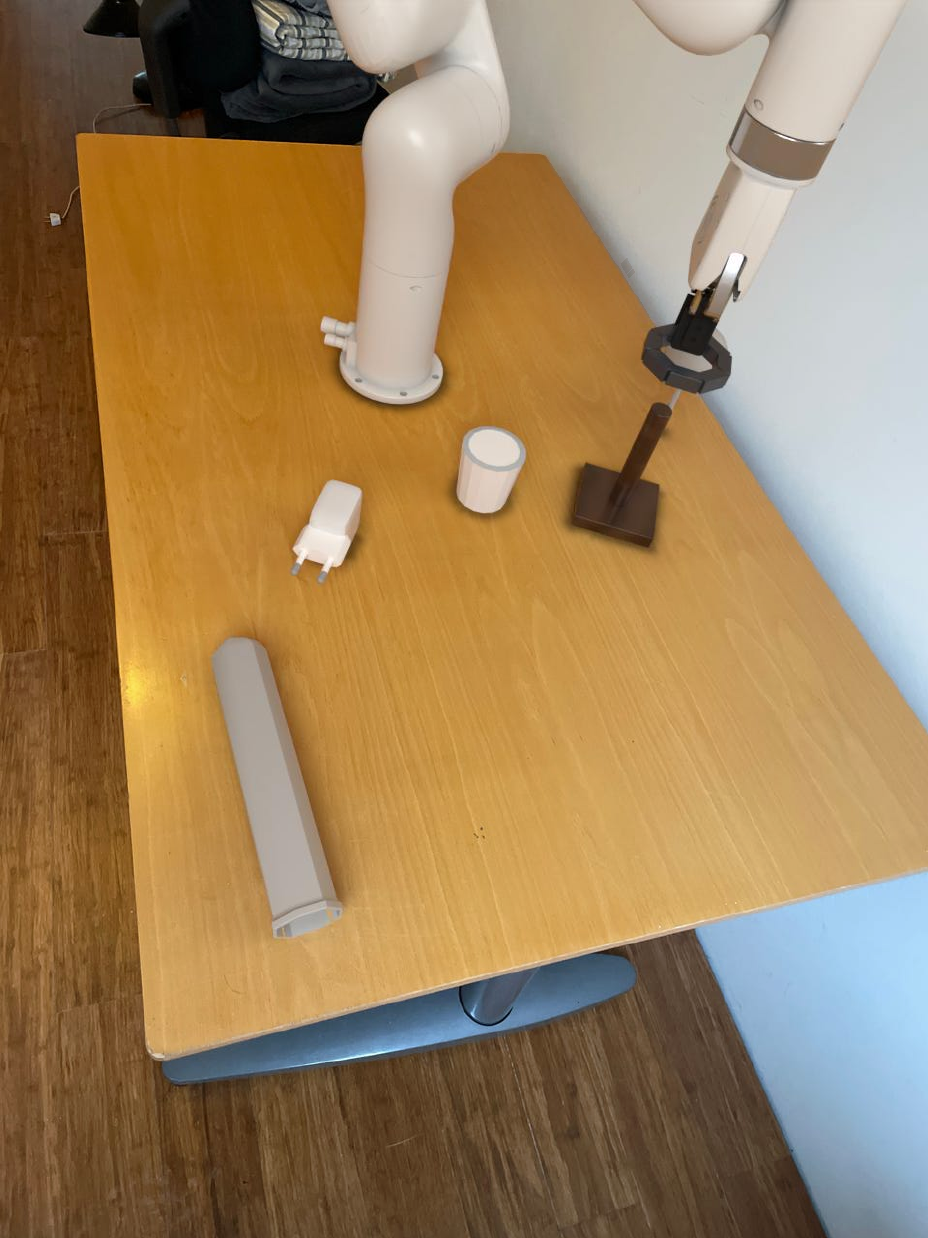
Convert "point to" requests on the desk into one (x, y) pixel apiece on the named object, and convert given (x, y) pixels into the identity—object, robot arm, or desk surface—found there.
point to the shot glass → (488, 468)
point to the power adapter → (329, 527)
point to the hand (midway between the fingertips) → (686, 341)
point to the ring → (681, 375)
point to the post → (624, 489)
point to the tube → (273, 791)
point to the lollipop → (690, 361)
